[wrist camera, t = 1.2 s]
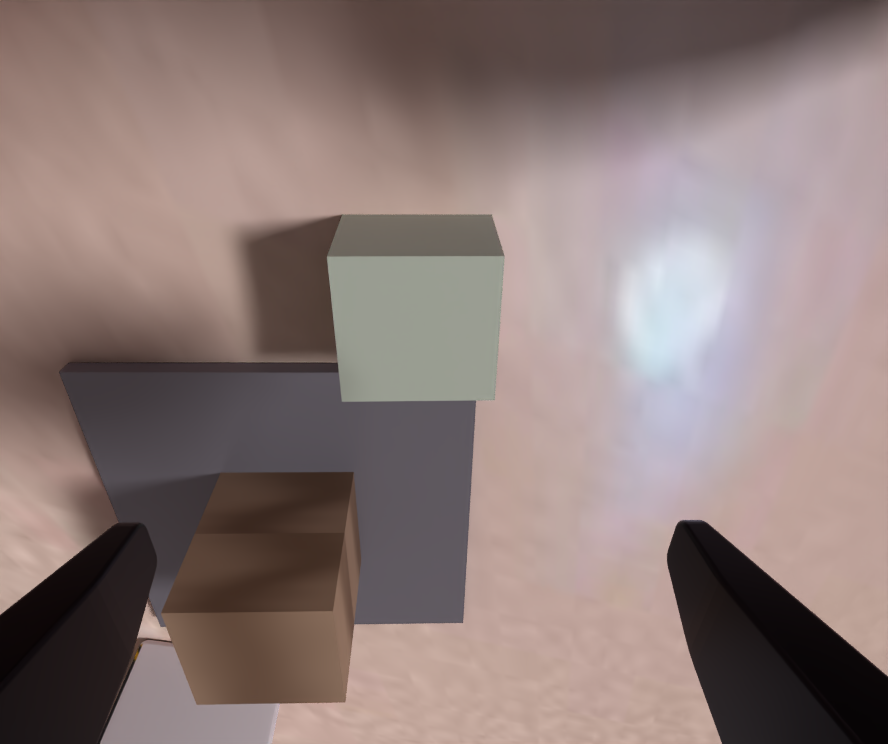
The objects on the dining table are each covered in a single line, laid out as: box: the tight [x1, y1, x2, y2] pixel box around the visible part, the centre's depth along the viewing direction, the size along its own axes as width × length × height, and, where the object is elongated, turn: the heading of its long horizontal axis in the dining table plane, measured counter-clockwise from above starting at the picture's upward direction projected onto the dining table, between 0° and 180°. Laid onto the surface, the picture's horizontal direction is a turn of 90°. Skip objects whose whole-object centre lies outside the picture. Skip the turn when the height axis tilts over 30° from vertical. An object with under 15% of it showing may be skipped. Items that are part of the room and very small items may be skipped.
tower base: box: [195, 472, 361, 620], centre depth 22 cm, size 5×5×3 cm
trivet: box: [59, 363, 476, 627], centre depth 24 cm, size 14×14×1 cm
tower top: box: [161, 533, 354, 705], centre depth 20 cm, size 5×5×3 cm
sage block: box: [327, 215, 504, 402], centre depth 18 cm, size 4×4×4 cm
